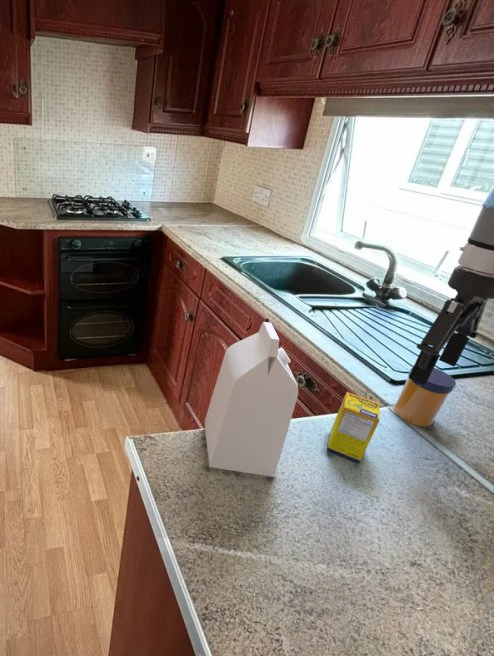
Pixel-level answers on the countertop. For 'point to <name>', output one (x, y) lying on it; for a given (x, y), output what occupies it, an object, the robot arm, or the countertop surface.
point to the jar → (418, 404)
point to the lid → (438, 382)
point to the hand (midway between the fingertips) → (432, 371)
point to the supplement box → (353, 427)
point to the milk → (251, 405)
